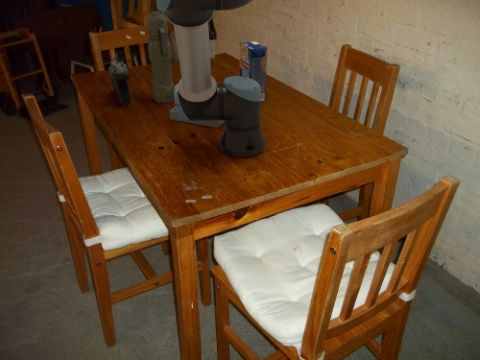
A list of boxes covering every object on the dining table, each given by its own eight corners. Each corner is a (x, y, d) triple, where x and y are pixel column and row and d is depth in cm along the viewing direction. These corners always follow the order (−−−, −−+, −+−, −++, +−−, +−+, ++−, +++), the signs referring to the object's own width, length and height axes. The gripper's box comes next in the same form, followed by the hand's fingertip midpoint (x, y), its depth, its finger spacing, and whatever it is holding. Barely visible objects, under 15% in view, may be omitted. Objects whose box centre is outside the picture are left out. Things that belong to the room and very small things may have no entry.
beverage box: (253, 91, 183) (254, 41, 171) (265, 100, 175) (267, 47, 163) (239, 94, 181) (239, 42, 169) (251, 103, 172) (251, 49, 160)
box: (217, 128, 153) (217, 119, 151) (170, 119, 159) (169, 110, 157) (238, 108, 168) (238, 99, 166) (194, 100, 174) (194, 92, 172)
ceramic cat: (134, 106, 169) (127, 57, 158) (118, 109, 167) (110, 59, 156) (124, 90, 184) (117, 44, 173) (109, 92, 182) (101, 46, 171)
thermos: (162, 106, 169) (153, 16, 150) (148, 98, 177) (138, 11, 158) (181, 101, 174) (174, 13, 154) (167, 93, 181) (158, 8, 162)
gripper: (192, 7, 130) (196, 73, 141) (225, -5, 149) (226, 54, 161) (171, 5, 132) (176, 71, 144) (206, -6, 152) (208, 52, 163)
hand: (202, 62), depth 152 cm, fingers open, 13 cm apart
